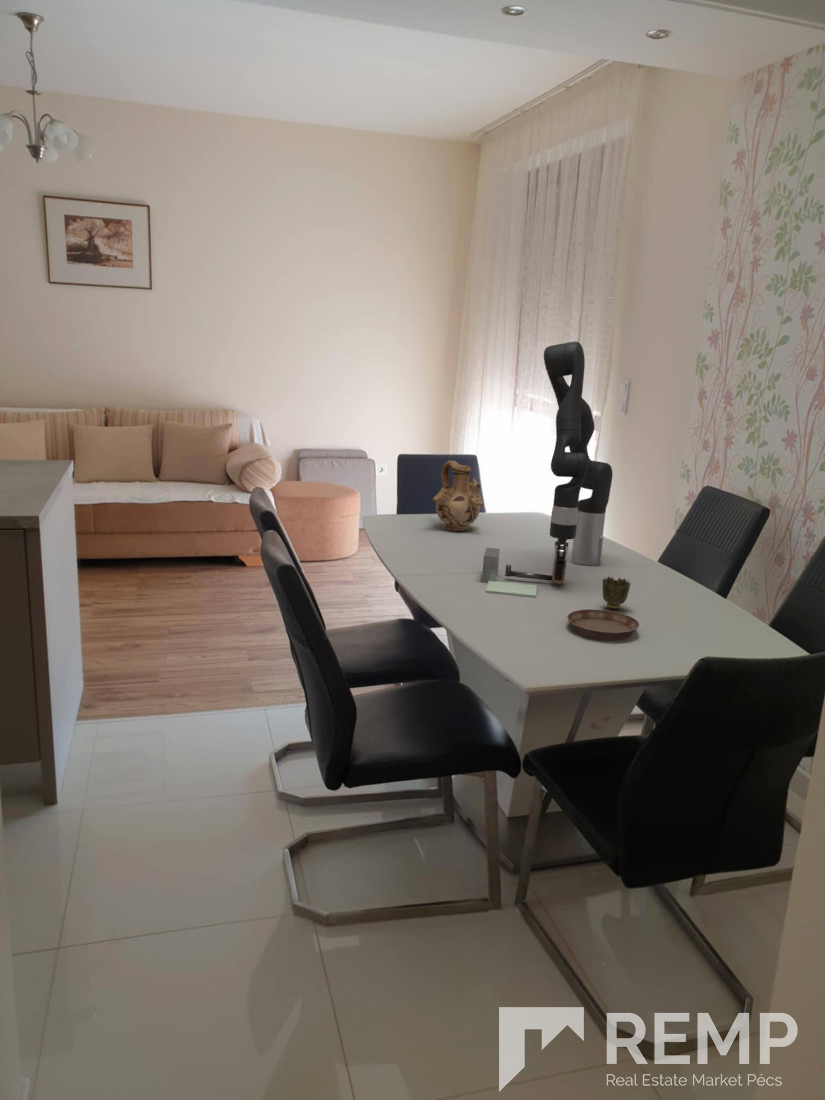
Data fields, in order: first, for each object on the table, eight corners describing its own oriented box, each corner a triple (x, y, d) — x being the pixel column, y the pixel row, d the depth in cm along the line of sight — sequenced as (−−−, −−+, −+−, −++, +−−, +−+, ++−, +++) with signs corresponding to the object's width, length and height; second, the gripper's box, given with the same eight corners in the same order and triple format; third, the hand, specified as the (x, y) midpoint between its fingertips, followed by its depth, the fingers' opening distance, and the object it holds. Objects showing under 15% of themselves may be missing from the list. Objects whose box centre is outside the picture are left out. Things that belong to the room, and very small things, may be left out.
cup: (627, 606, 230) (631, 578, 228) (626, 614, 223) (630, 585, 221) (600, 603, 232) (603, 575, 230) (598, 610, 225) (601, 582, 223)
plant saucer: (551, 628, 210) (553, 616, 209) (591, 615, 222) (593, 604, 221) (612, 649, 198) (614, 637, 197) (651, 634, 210) (652, 622, 209)
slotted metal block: (497, 574, 254) (499, 548, 252) (495, 583, 244) (497, 556, 242) (484, 573, 255) (486, 547, 253) (481, 582, 245) (483, 555, 243)
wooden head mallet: (563, 580, 248) (566, 557, 246) (563, 583, 244) (566, 560, 243) (505, 573, 250) (507, 551, 249) (504, 577, 247) (507, 554, 245)
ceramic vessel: (430, 533, 302) (435, 464, 296) (432, 521, 321) (436, 456, 314) (480, 536, 302) (486, 467, 295) (479, 525, 320) (485, 460, 314)
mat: (536, 587, 243) (536, 585, 243) (535, 597, 233) (535, 595, 233) (488, 582, 245) (488, 580, 245) (485, 592, 235) (485, 590, 235)
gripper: (577, 527, 234) (571, 586, 239) (576, 517, 248) (570, 573, 252) (550, 524, 236) (544, 583, 240) (551, 515, 249) (545, 570, 253)
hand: (558, 577), depth 246 cm, fingers closed on wooden head mallet, 3 cm apart
